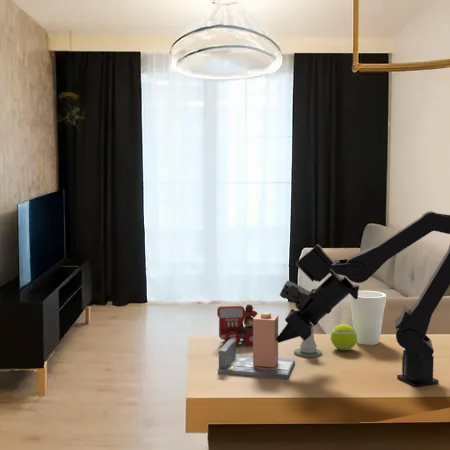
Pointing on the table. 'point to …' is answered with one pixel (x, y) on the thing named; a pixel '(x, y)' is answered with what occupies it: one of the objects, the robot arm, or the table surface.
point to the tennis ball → (344, 337)
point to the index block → (265, 340)
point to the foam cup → (368, 316)
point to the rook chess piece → (308, 344)
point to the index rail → (250, 364)
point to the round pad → (309, 355)
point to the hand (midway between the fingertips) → (277, 340)
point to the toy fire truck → (236, 323)
